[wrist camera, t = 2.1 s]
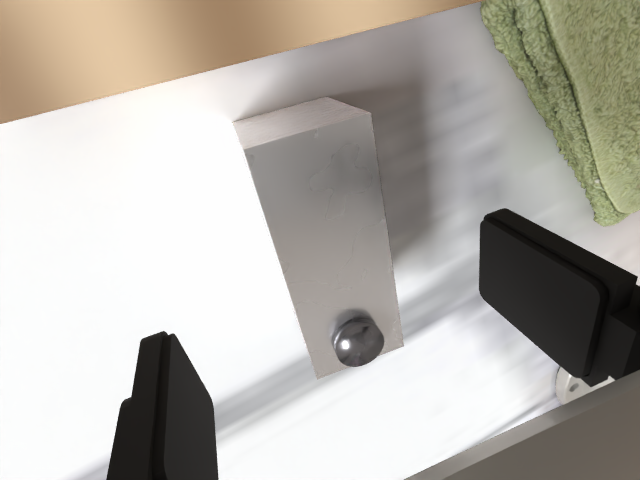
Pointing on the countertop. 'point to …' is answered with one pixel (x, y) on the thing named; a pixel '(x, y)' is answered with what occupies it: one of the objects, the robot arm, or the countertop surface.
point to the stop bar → (326, 227)
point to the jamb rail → (162, 41)
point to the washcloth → (581, 87)
